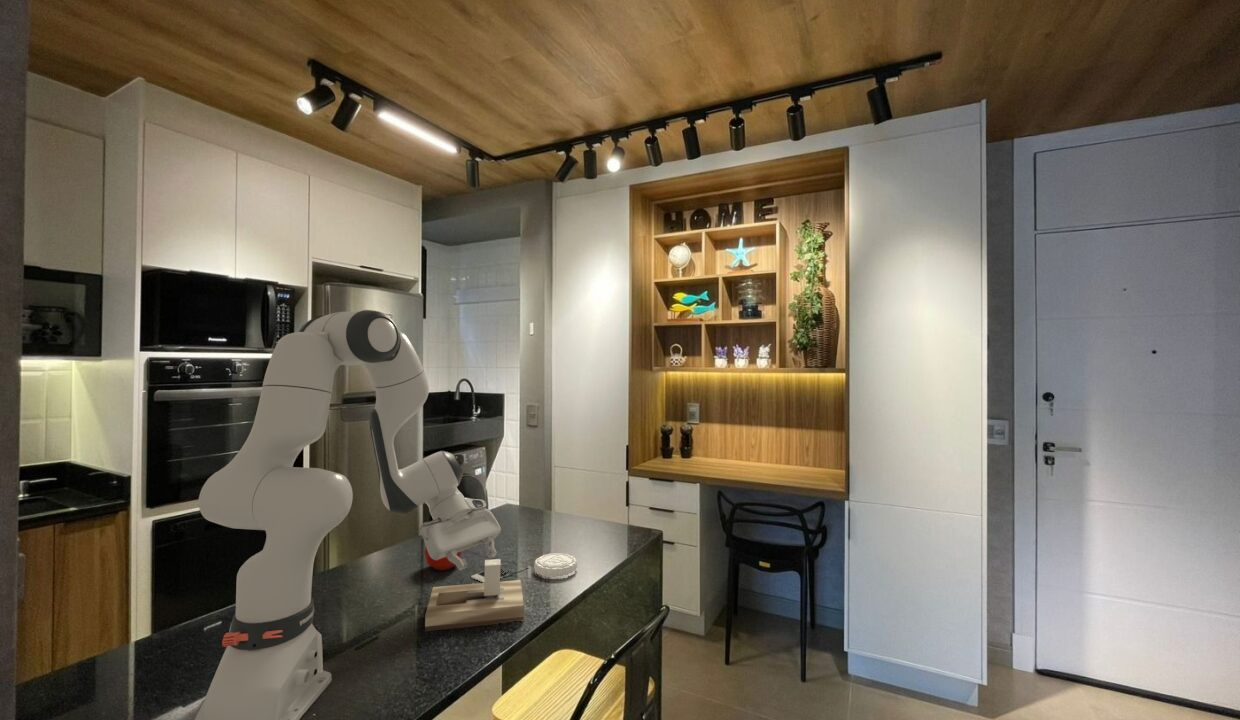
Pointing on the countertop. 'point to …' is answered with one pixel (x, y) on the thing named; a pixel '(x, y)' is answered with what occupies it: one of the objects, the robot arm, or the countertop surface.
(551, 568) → the container lid
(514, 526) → the countertop surface
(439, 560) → the apple
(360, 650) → the countertop surface
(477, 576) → the smartphone
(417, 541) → the countertop surface
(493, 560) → the cream peg
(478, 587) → the keyhole plate
